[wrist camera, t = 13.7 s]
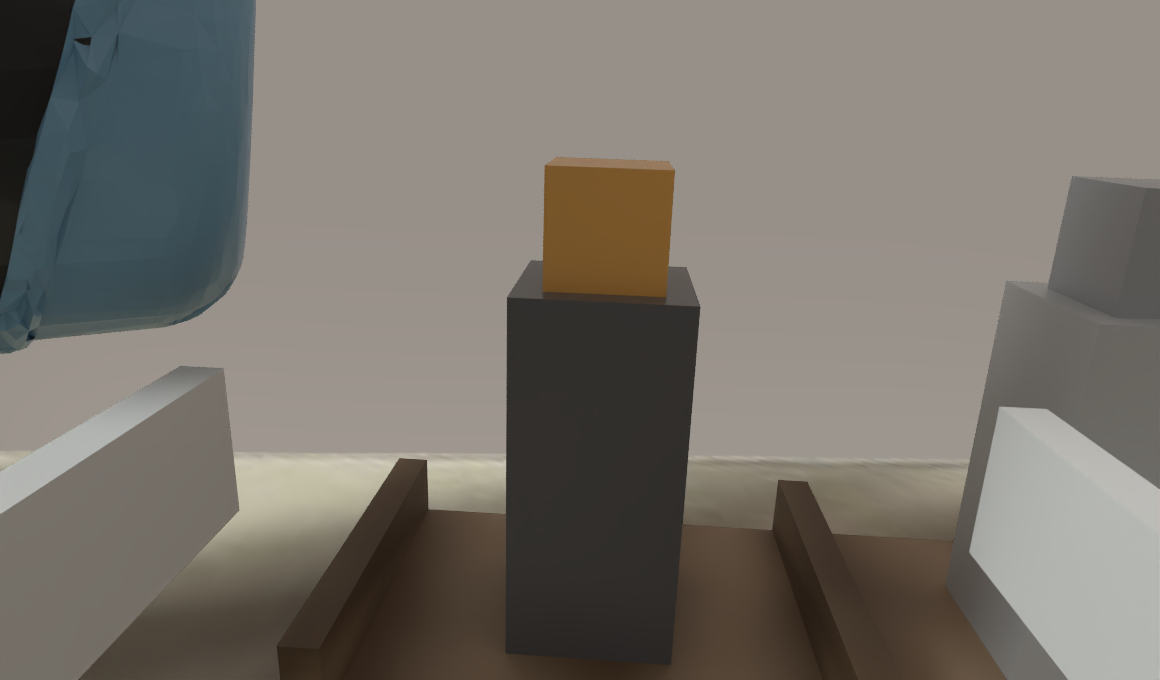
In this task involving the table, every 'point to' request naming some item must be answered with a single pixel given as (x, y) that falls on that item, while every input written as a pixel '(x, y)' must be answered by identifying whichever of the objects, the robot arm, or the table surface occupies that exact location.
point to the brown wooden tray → (702, 617)
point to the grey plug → (1071, 376)
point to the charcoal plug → (599, 418)
